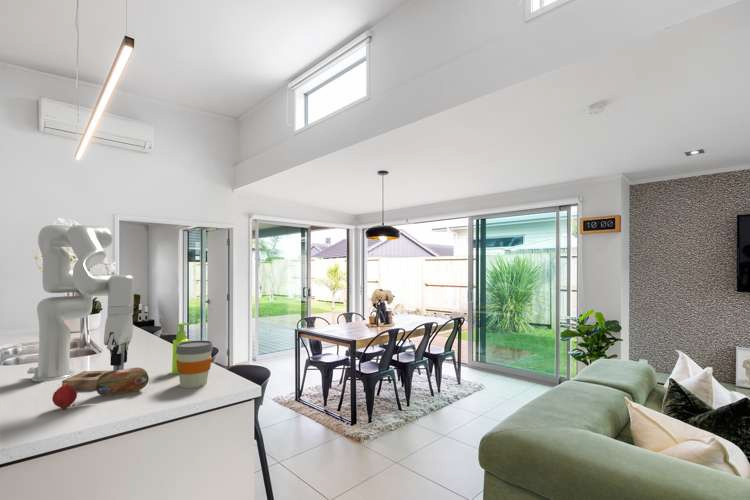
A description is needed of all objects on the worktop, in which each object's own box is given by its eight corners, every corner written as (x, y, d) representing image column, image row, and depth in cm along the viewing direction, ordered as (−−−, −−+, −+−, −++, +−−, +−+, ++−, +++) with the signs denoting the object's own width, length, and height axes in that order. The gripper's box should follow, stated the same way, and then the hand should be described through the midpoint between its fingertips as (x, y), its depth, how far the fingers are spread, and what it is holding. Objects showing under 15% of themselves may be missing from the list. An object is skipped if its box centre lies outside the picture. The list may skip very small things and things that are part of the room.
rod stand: (61, 392, 131) (62, 380, 132) (83, 381, 143) (84, 371, 144) (99, 391, 133) (99, 379, 133) (117, 380, 145) (118, 370, 145)
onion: (61, 405, 119) (62, 379, 120) (80, 405, 120) (81, 379, 120) (47, 412, 113) (48, 385, 114) (67, 412, 114) (68, 385, 114)
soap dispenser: (193, 370, 160) (194, 322, 161) (179, 374, 154) (181, 324, 155) (182, 368, 162) (183, 321, 163) (168, 372, 156) (170, 324, 157)
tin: (95, 398, 125) (96, 377, 123) (95, 392, 128) (96, 371, 125) (147, 390, 134) (149, 369, 132) (146, 384, 137) (148, 364, 135)
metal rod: (111, 378, 130) (112, 337, 130) (116, 375, 132) (117, 335, 133) (120, 378, 130) (122, 336, 130) (125, 375, 133) (126, 335, 133)
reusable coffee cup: (219, 381, 145) (220, 342, 145) (191, 391, 133) (192, 348, 134) (196, 377, 150) (197, 339, 151) (167, 386, 139) (168, 345, 139)
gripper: (121, 308, 140) (120, 358, 139) (94, 313, 124) (92, 370, 123) (143, 308, 141) (141, 358, 140) (119, 313, 125) (117, 370, 124)
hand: (118, 363), depth 131 cm, fingers closed on metal rod, 3 cm apart
